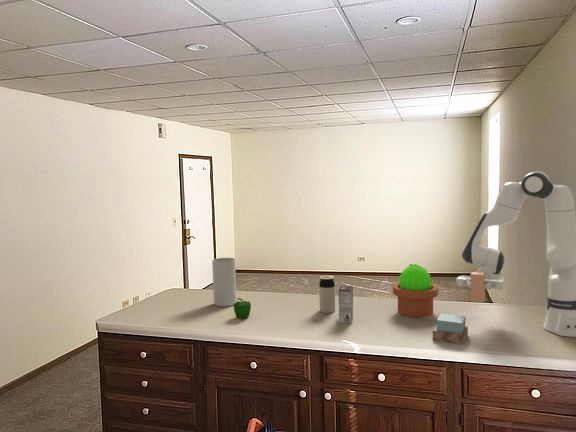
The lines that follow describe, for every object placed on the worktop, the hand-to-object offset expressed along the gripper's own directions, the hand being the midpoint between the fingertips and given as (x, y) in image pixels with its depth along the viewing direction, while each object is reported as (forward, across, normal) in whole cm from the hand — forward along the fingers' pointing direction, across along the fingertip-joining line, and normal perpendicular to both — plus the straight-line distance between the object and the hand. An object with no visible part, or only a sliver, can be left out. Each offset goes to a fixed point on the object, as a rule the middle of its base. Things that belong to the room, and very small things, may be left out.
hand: (477, 286), depth 205 cm
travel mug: (-1, -74, +19) cm, 76 cm away
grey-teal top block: (+11, -9, +17) cm, 22 cm away
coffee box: (+9, -59, +20) cm, 63 cm away
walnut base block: (+11, -9, +21) cm, 26 cm away
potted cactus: (-18, -33, +20) cm, 42 cm away
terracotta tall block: (-1, 0, +6) cm, 7 cm away
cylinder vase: (+12, -131, +18) cm, 132 cm away
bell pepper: (+28, -107, +19) cm, 112 cm away
